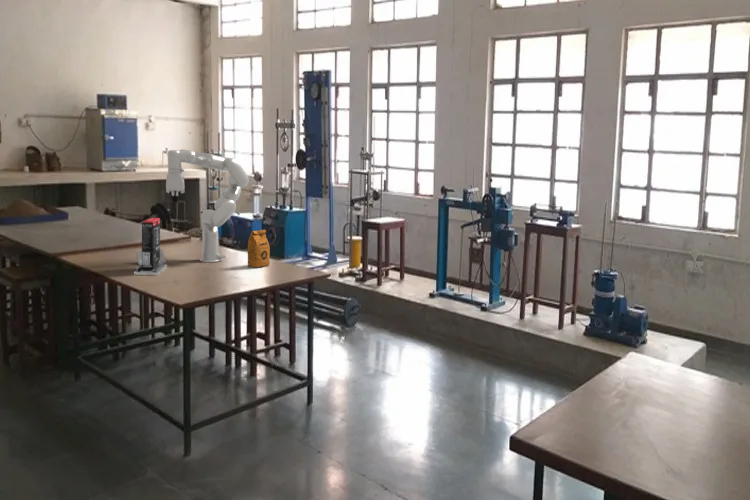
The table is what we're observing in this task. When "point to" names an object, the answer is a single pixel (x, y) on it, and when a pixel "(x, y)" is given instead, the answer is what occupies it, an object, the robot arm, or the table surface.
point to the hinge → (139, 257)
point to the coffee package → (258, 249)
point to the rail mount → (150, 270)
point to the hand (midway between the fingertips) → (175, 202)
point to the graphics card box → (151, 243)
